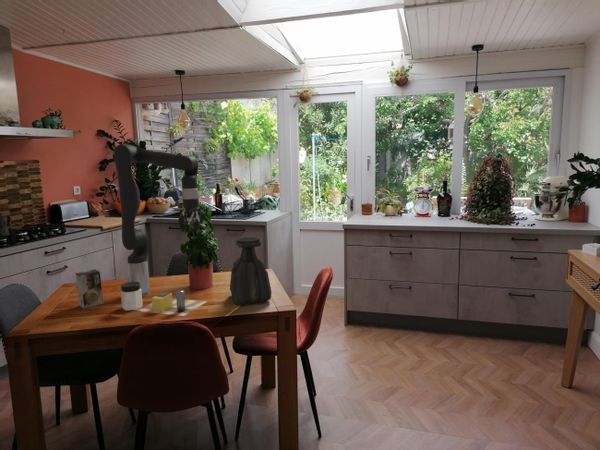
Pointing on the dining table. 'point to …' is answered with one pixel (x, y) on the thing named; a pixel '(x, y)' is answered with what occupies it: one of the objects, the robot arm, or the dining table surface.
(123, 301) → the jar
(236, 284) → the dark grey vase
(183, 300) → the peg
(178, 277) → the dining table surface
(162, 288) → the dining table surface
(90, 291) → the coffee box
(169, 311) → the panel
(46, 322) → the dining table surface
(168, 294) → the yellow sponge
